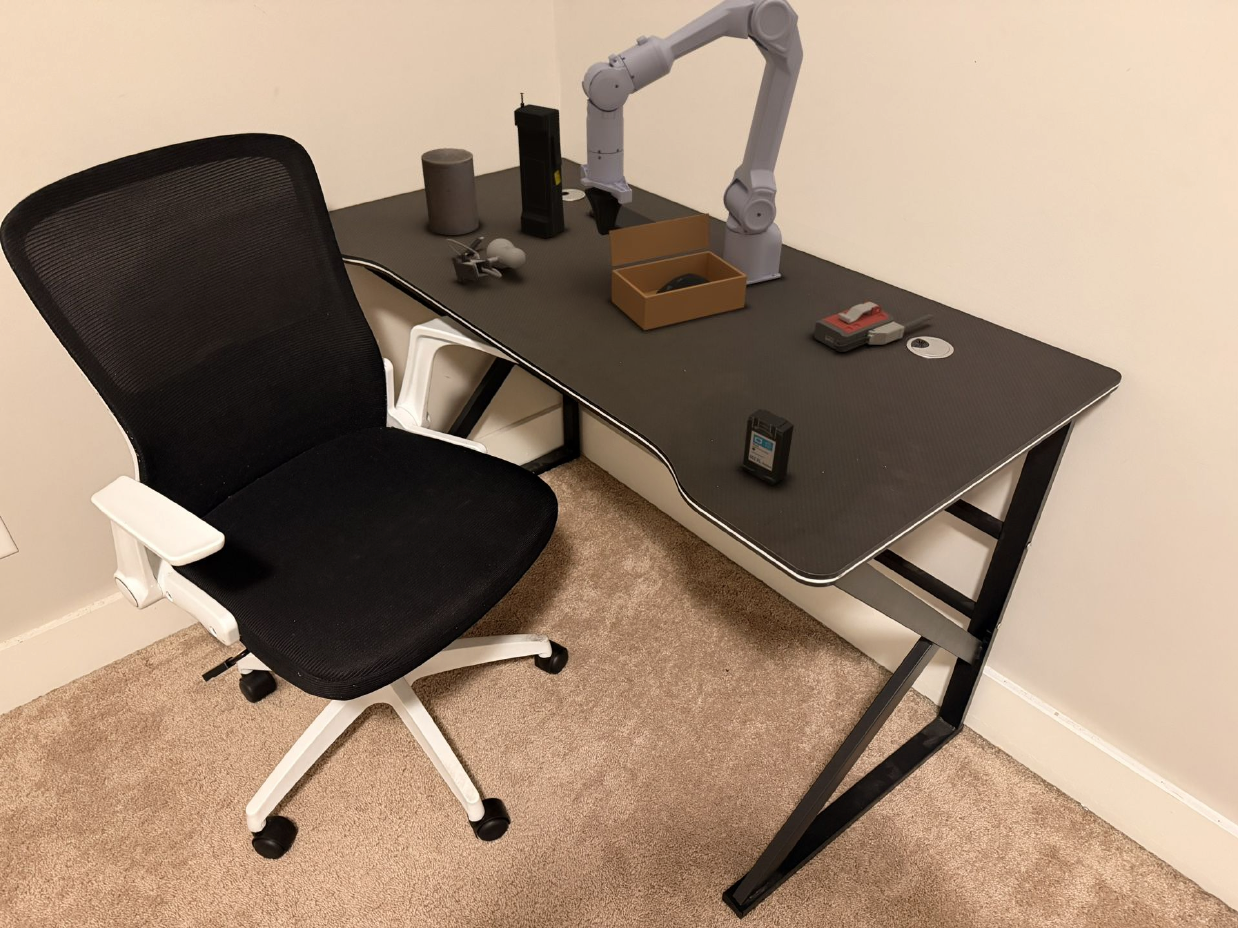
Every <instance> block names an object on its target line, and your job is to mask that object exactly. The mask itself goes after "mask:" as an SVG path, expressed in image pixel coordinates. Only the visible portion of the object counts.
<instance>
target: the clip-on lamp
mask: <svg viewBox="0 0 1238 928" xmlns="http://www.w3.org/2000/svg"><path fill="white" fill-rule="evenodd" d="M484 239H485V237H484V236H480V237H479V238H476V239H475V240H474V241H473V242H472V243H471V244H470V245H469V246H467V245H465V244H463V243H461V242H459V241H458V240H457V241H456V240H455V239H452V238H447V239H446V243H447V245H448V247H450V249H451V250H452V251H454V252H455V254H457V255H459V256H460V259H461V262H459V259H458V257H457V256H453V257H451V261H452V264H453V268H454V271H455V275H456V279H457V282H460V283H463V282H464V279H467V280H470V281H475V282H476V281H479V279H480V278H479V277H483V276H484V277H485V276H491V275H492V276H494V277H496V278H498V279H501V278H502V274H501V272H500V271H498V269H507V268H510V269H514V270H519V269H522V268H523V267H524V265H525V264H526V260H527V259H526V258H527V257H526V253H525V251H523V250H521V249H520V248H518V247H516V246H514V244H513V243H512V242H511V241H510V240H508V239H506V238H496V239H493V240H491V242H490V243H489V244H488V246H487V248H486V253H485V254H486V258H487V259H485V258H480V254H479V253H478V252H477V251H475V250H476V248H479V247H478V246H479V245H480V244H481V243H482V242H483V240H484ZM450 242H452V243H454V244H456V245H459V246H460V247H463V248H465V249H466V250H465V251H464V253H459V252H458V251H457V250H456V249H455V248H454V247H453V246H452V245H451V243H450ZM472 253H473V254H474V255H473V258H468V256H467V255H471V254H472ZM493 267H494V268H493Z"/></svg>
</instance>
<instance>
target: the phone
mask: <svg viewBox="0 0 1238 928" xmlns="http://www.w3.org/2000/svg"><path fill="white" fill-rule="evenodd" d="M589 215H590V216H591V217H594V213H593V210H592V208H591V209H589ZM656 222H657V221H655V220H653V219H651V218H649V217H648V216H644V215H642V214H641V213H638V212H636V211H634V210H632V209H630V208H628V207H626V206H624V205H622V206H621V208H620V210H619V213H618V216H617V219H616V223H615V227H614V229H616V230H617V229H623V228H629V227H634V226H640V225H645V224H651V223H656Z"/></svg>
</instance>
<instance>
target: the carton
mask: <svg viewBox="0 0 1238 928" xmlns="http://www.w3.org/2000/svg"><path fill="white" fill-rule="evenodd" d="M689 273H691V274H696V275H699V276H701V277H703V278H705V279H707V280H709V281H710V283H705V284H701V285H696V286H692V287H687V288H682V289H678V290H673V291H668V292H664V293H659V294H656V293H657V291H658V290H660V289H661V288H662V287H663V286H664V285H665V284H667V283H668V282H670V281H671V280H673V279H674V278H676V277H679V276H681V275H684V274H689ZM746 284H747V275H745V274H744V273H742V272H741V271H739V270H738V269H736V268H735V267H733V266H732V265H730V264H729V263H727V262H726V261H724V260H723V258H721V257H720V256H718V255H716V254H715V253H714V252H712V251H711V250H706V251H701V252H695V253H692V254H691V253H690V254H685V255H681V256H676V257H671V258H666V259H661V260H656V261H651V262H646V263H641V264H636V265H630V266H625V267H620V268H615V269H611V302H612V303H613V304H614V305H615V306H616V307H617V308H619V309H620V310H621V311H622V312H623V313H624V314H625V315H627V317H629V318H630V319H631V320H632V321H633V322H635V324H636V325H638V326H639V327H640V328H641V329H642V330H644V331H647V330H651V329H652V330H653V329H656V328H661V327H665V326H669V325H673V324H678V323H682V322H686V321H691V320H694V319H695V320H696V319H699V318H703V317H708V316H712V315H716V314H721V313H725V312H730V311H734V310H737V309H738V310H739V309H742V308H745V302H746V291H747V285H746Z"/></svg>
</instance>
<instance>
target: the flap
mask: <svg viewBox="0 0 1238 928" xmlns="http://www.w3.org/2000/svg"><path fill="white" fill-rule="evenodd" d="M655 222H656V223H651V224H645V225H640V226H634V227H629V228H623V229H617V228H616V229H614V230H612V231H609V234H608V237H609V249H610V250H609V251H610V263H611V264H610V265H611V267H616V266H622V265H627V264H632V263H637V262H642V261H647V260H652V259H657V258H662V257H667V256H671V255H672V256H673V255H677V254H683V253H687V252H692V251H697V250H703V249H708V248H710V247H711V239H710V234H711V233H710V213H708V212H707V213H701V214H696V215H690V216H685V217H679V218H674V219H667V220H663V221H662V220H661V221H655Z"/></svg>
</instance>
